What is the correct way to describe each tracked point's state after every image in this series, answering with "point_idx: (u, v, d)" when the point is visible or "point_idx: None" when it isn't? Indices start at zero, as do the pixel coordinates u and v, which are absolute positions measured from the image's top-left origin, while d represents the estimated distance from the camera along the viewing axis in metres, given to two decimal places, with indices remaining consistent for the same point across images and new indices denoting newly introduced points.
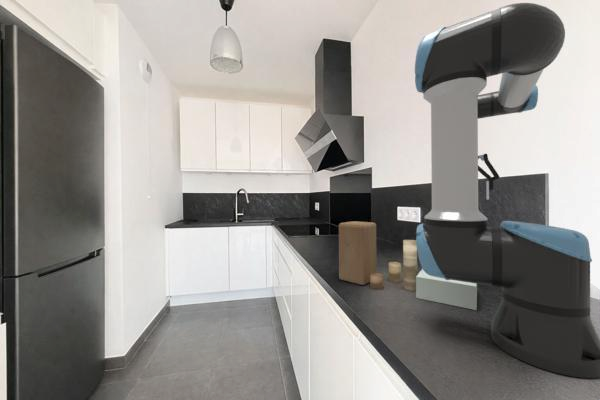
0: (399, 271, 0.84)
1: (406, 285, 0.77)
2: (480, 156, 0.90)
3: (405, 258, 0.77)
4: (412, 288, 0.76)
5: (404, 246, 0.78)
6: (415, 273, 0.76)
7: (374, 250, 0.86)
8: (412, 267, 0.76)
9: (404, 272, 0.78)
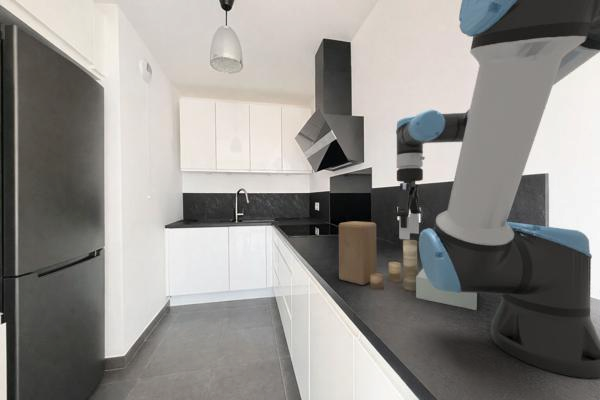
0: (399, 271, 0.84)
1: (406, 285, 0.77)
2: None
3: (405, 258, 0.77)
4: (412, 288, 0.76)
5: (404, 246, 0.78)
6: (415, 273, 0.76)
7: (374, 250, 0.86)
8: (412, 267, 0.76)
9: (404, 272, 0.78)
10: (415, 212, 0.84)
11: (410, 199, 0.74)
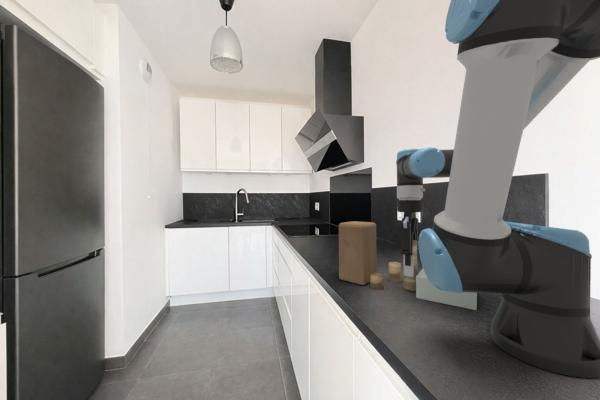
0: (399, 271, 0.84)
1: (406, 285, 0.77)
2: None
3: None
4: (412, 288, 0.76)
5: None
6: (415, 273, 0.76)
7: (374, 250, 0.86)
8: None
9: None
10: None
11: (412, 235, 0.75)
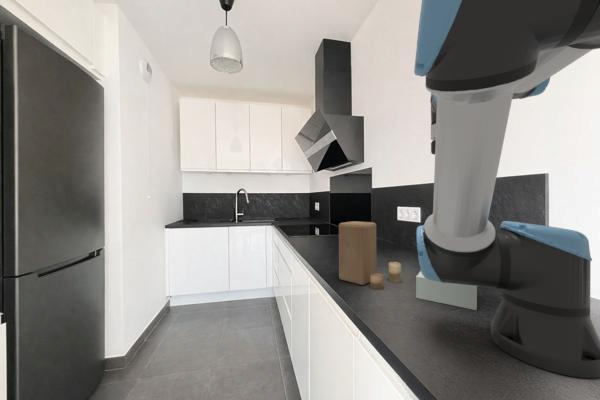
0: (399, 271, 0.84)
1: None
2: None
3: None
4: None
5: None
6: None
7: (374, 250, 0.86)
8: None
9: None
10: None
11: None
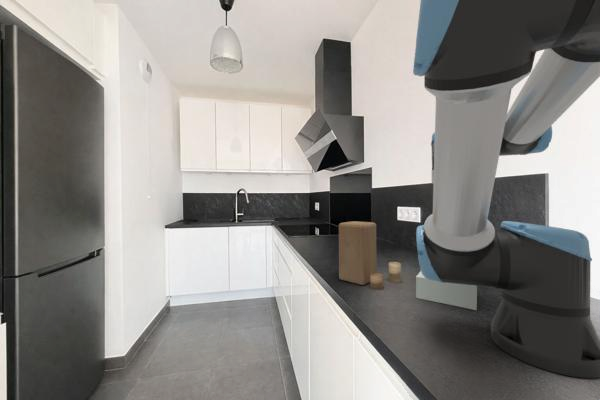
0: (399, 271, 0.84)
1: None
2: None
3: None
4: None
5: None
6: None
7: (374, 250, 0.86)
8: None
9: None
10: None
11: None
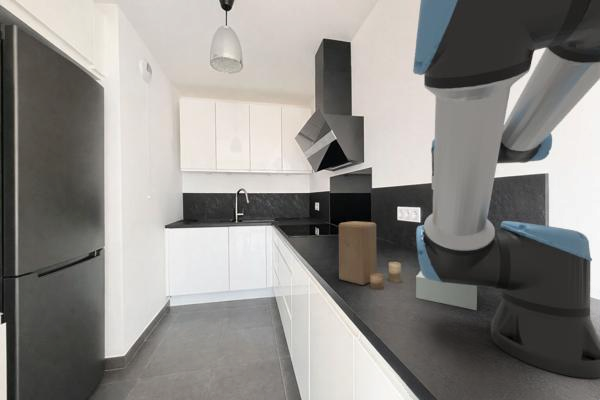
0: (399, 271, 0.84)
1: None
2: None
3: None
4: None
5: None
6: None
7: (374, 250, 0.86)
8: None
9: None
10: None
11: None
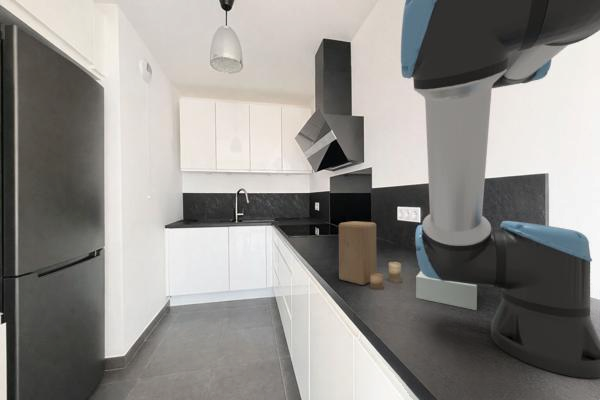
0: (399, 271, 0.84)
1: None
2: None
3: None
4: None
5: None
6: None
7: (374, 250, 0.86)
8: None
9: None
10: None
11: None
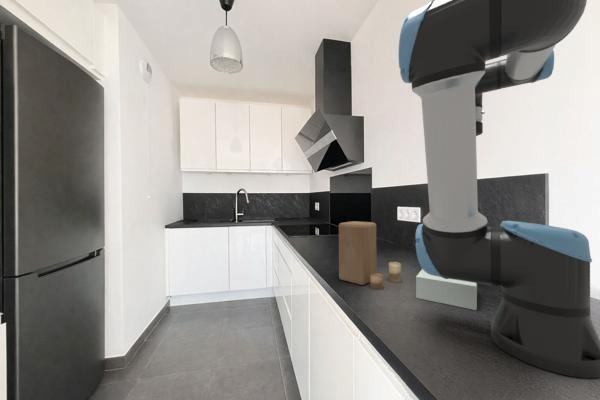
0: (399, 271, 0.84)
1: None
2: None
3: None
4: None
5: None
6: None
7: (374, 250, 0.86)
8: None
9: None
10: None
11: None
